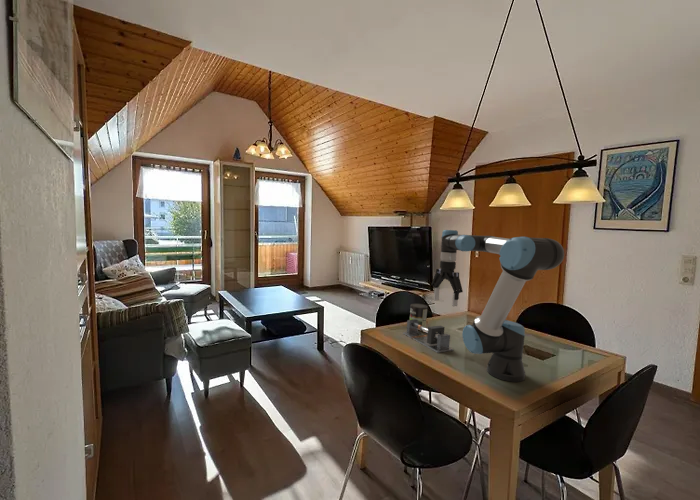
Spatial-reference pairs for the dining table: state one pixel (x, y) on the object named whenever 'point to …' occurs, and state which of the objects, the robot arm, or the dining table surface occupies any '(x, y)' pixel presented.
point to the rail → (413, 333)
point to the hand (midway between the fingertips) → (445, 303)
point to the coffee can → (419, 313)
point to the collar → (432, 331)
